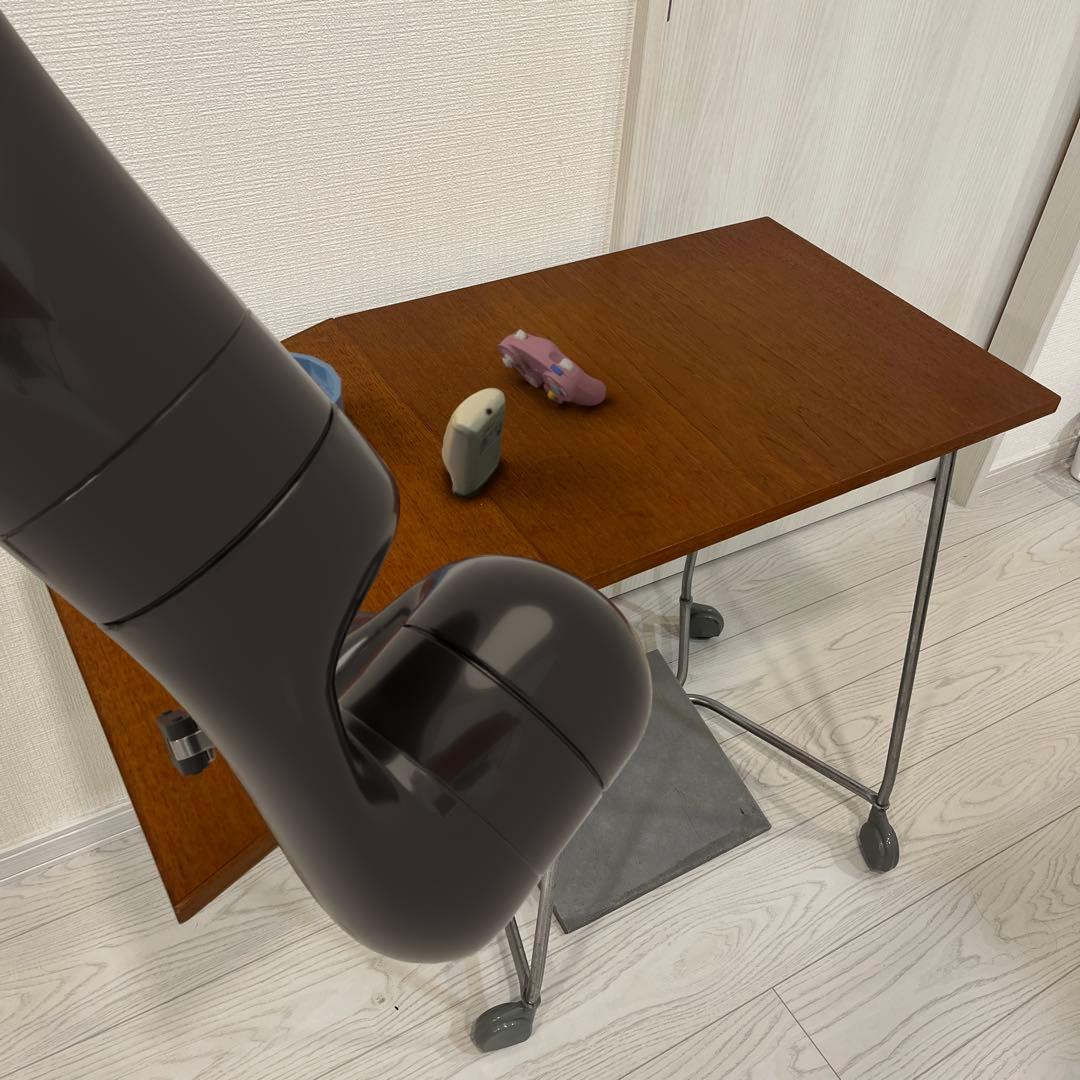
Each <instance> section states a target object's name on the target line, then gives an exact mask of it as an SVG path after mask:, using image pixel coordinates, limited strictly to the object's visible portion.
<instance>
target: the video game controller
mask: <svg viewBox="0 0 1080 1080" xmlns="http://www.w3.org/2000/svg"><path fill="white" fill-rule="evenodd" d="M497 347H498V350H499V353H500V354H501V355H502V364H503V365H504V366H505V367H507V368H508V369H513V368H515V369H516V370H517V371H518V372H519V373H520V374H521V375H522V377H523V378H524V379H525V380H526V382H528V383H529V384H530V385H531V386H533V387H534V388H537V389H538V388H540V387H541V385H542V384H543V383H544V384H543V389H544V391H545V392H546V394H547V397H548V398H549V399H550V400H551V401H555V402H557V403H558V404H560V405H561V404H563V403H564V402H569V403H570V402H571V403H574V404H577V405H581V406H586V407H593V406H597V405H599V404H601V403H602V402H604V400H605V398H606V396H607V395H606V394H607V386H606V384H604V382H602V381H601V380H600V379H597V378H594V377H592V376H590V375H588V374H587V373H585V371H584V370H582V368H581V367H580V366H578V364H576V363H575V362H574V361H573V360H572V359H570V358H569V357H568V356H566V355H565V354H564V353H563V352H562V351H561V350H560V349H559V347H558V346H557V345H556V344H555V342H553V341H552V340H550V339H547V338H544V337H540V336H535V335H532V334H531V333H528V332H525V331H524V330H522V329H519V330H518V331H515V332H513V333H510V334H509V335H508V336H506V337H505V338H503V340H502V341H501V342H500V343H499V344H498V345H497Z"/></svg>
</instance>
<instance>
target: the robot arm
mask: <svg viewBox="0 0 1080 1080" xmlns="http://www.w3.org/2000/svg"><path fill="white" fill-rule="evenodd" d="M247 306H248V305H247V303H246V302H245V301H244V300H243V299H242V298H241V297H240V295H238V293H237V292H235V290H234V289H233V288H232V287H231V285H229V284H228V282H227V281H226V280H225V279H224V278H223V277H222V276H221V275H220V274H219V273H218V271H216V269H215V268H214V267H213V266H212V265H211V264H210V263H209V262H208V260H207V259H206V258H205V257H204V256H203V255H202V254H201V253H200V252H199V251H198V250H197V248H196V247H195V246H194V245H193V244H192V243H191V242H190V241H189V240H188V239H187V237H186V236H185V235H184V234H183V233H182V232H181V231H180V230H179V228H178V227H177V225H175V224H174V223H173V222H172V220H171V219H170V218H169V217H168V216H167V214H166V213H165V212H164V211H163V210H162V209H161V208H160V206H159V205H158V204H157V203H156V202H155V201H154V200H153V198H152V197H151V196H150V195H149V194H148V193H147V191H146V190H145V189H144V188H143V187H142V186H141V184H140V183H139V182H138V181H137V179H135V177H134V176H133V175H132V174H131V173H130V172H129V170H128V169H127V168H126V167H125V166H124V165H123V163H122V162H121V161H120V160H119V158H117V156H116V155H115V154H114V152H113V151H112V150H111V149H110V147H109V146H108V145H107V144H106V143H105V141H104V140H103V139H102V138H101V137H100V136H99V134H98V133H97V132H96V130H95V129H94V128H93V127H92V125H91V124H90V123H89V122H88V121H87V120H86V118H85V117H84V116H83V114H82V113H81V112H80V111H79V109H78V108H77V107H76V106H75V105H74V104H73V102H72V101H71V100H70V99H69V97H68V96H67V95H66V94H65V92H64V91H63V89H61V87H60V86H59V85H58V84H57V82H56V81H55V80H54V78H53V77H52V76H51V75H50V73H49V72H48V71H47V69H46V68H45V67H44V66H43V64H42V63H41V62H40V60H39V59H38V58H37V57H36V55H35V54H34V53H33V52H32V50H31V49H30V47H29V46H28V44H27V43H26V42H25V41H24V40H23V37H21V35H20V34H19V33H18V31H17V30H16V28H15V27H14V26H13V24H12V23H11V22H10V20H9V19H8V17H7V16H6V15H5V13H4V11H3V10H2V9H1V8H0V548H1V549H2V550H4V551H5V552H6V553H8V554H9V555H10V556H11V557H12V558H13V559H15V560H16V561H17V562H18V563H20V564H21V565H22V566H23V567H24V568H26V570H28V571H29V572H30V573H32V574H33V575H34V576H36V578H38V580H40V581H41V582H43V584H45V585H47V587H48V588H50V589H51V590H53V592H55V593H56V594H57V595H59V596H60V598H62V599H63V600H65V601H66V602H67V603H68V604H69V605H70V606H72V607H73V608H74V609H76V611H78V612H79V613H80V614H82V615H83V616H84V617H85V618H86V619H87V620H88V621H90V622H91V623H94V624H96V627H97V628H98V629H99V630H100V631H102V632H103V634H105V635H107V637H108V638H109V639H111V640H112V641H113V642H114V643H116V644H117V645H118V646H119V647H120V648H121V649H122V650H123V651H125V652H126V653H127V654H128V655H129V656H130V657H131V658H132V659H133V660H135V662H137V663H138V664H139V665H140V666H141V667H142V668H143V669H144V670H145V671H146V672H147V673H148V674H149V675H150V676H151V677H153V679H155V680H156V681H157V682H158V683H159V684H160V685H161V686H162V687H163V688H164V689H165V690H166V691H167V693H168V694H169V695H170V696H171V697H172V698H173V699H174V700H175V701H176V702H177V704H178V705H180V707H181V708H182V709H183V710H182V709H180V708H178V709H175V710H172V709H171V708H170V709H168V710H167V709H166V710H165V711H163V712H160V713H161V715H159V716H157V717H156V718H155V722H156V725H157V727H158V729H159V730H160V732H161V735H162V738H163V740H164V743H165V745H166V748H167V751H168V753H169V760H170V761H171V763H172V764H171V765H172V766H173V767H174V768H175V769H176V770H177V771H178V772H179V773H180V774H181V775H182V776H183V777H187V776H192V777H194V776H197V775H200V774H202V773H203V772H204V770H205V769H207V768H208V767H210V763H211V762H213V761H215V760H216V759H217V756H216V754H215V751H214V748H215V749H216V751H217V752H218V753H219V754H220V756H221V757H222V759H223V760H224V761H225V763H226V764H227V765H228V767H229V769H230V771H231V772H232V774H233V775H234V777H235V778H236V779H237V781H238V782H239V784H240V785H241V787H242V788H243V790H244V791H245V793H246V794H247V796H248V798H249V799H250V801H251V802H252V805H253V806H254V808H255V809H256V810H257V812H258V814H259V815H260V818H261V819H262V821H263V822H264V824H265V826H266V827H267V829H268V831H269V833H270V834H271V836H272V837H273V839H274V840H275V842H276V844H277V845H278V847H279V848H280V850H281V852H282V853H283V855H284V856H285V858H286V859H287V861H288V863H289V864H290V867H291V868H292V870H293V871H294V872H295V874H296V875H297V877H298V878H299V880H300V881H301V883H302V884H303V885H304V887H305V888H306V889H307V891H308V892H309V893H310V895H311V896H312V898H313V899H314V901H315V902H316V903H317V905H318V906H319V907H320V908H321V909H322V910H323V911H324V912H325V914H326V915H327V916H329V918H330V919H331V920H332V921H333V922H334V923H335V924H336V925H337V926H338V927H339V929H340V930H342V931H343V932H345V934H347V935H348V936H349V937H350V938H352V939H353V940H354V941H355V942H357V943H358V944H360V945H361V946H363V947H365V948H366V949H368V950H370V951H372V952H374V953H376V954H378V955H380V956H382V957H385V958H388V959H392V960H395V961H398V962H401V963H402V962H403V963H409V964H427V965H428V964H430V965H436V964H443V963H451V962H455V961H458V960H462V959H464V958H467V957H470V956H473V955H475V954H477V953H478V952H480V951H481V950H482V949H484V948H485V947H487V946H488V945H489V944H490V943H492V941H493V940H494V939H495V938H496V937H497V936H499V935H500V934H501V932H503V931H504V930H505V928H506V927H507V926H508V924H509V923H510V922H511V921H512V919H513V918H514V917H515V916H516V914H517V913H518V912H519V910H520V909H522V906H523V905H524V904H525V903H526V901H527V900H528V898H529V897H530V896H531V894H532V893H533V891H534V890H535V889H536V887H537V886H538V885H539V883H540V881H541V880H542V879H541V878H542V877H544V876H545V875H546V873H547V872H548V871H549V869H550V868H551V866H552V865H553V864H554V863H555V861H556V860H557V858H558V857H559V856H560V854H561V853H562V852H563V850H564V849H565V848H566V846H567V845H568V844H569V842H570V841H571V840H572V838H573V837H574V836H575V834H576V833H577V831H579V829H580V827H582V825H583V823H584V822H585V821H586V819H587V818H588V817H589V815H590V814H591V813H592V811H593V810H594V809H595V807H596V806H597V804H598V803H599V802H600V801H601V799H602V798H603V792H607V791H608V790H609V788H610V787H611V786H612V784H613V783H614V782H615V780H616V779H617V778H618V776H619V775H620V774H621V772H622V770H623V769H625V767H626V766H627V764H628V763H629V761H630V759H631V758H632V757H633V755H634V754H635V752H636V751H637V750H638V747H639V745H640V743H641V741H642V739H643V737H644V735H645V733H646V731H647V728H648V725H649V722H650V718H651V715H652V708H653V707H652V706H653V697H654V694H653V693H654V692H653V690H654V687H653V679H652V672H651V667H650V663H649V659H648V656H647V654H646V651H645V649H644V646H643V644H642V642H641V640H640V637H639V636H638V633H637V632H636V630H635V629H634V627H633V625H632V624H631V622H630V621H629V619H627V617H626V615H624V613H623V612H622V611H621V610H620V608H619V607H618V606H616V604H615V603H614V602H613V601H612V600H611V599H609V598H608V597H607V595H605V594H604V593H603V592H601V591H600V590H599V589H598V588H596V587H595V586H593V585H592V584H591V583H590V582H588V581H586V580H585V579H583V578H582V577H580V576H578V575H576V574H574V573H573V572H571V571H569V570H567V569H564V568H561V567H560V566H557V565H555V564H552V563H549V562H546V561H543V560H540V559H537V558H532V557H528V556H521V555H516V554H506V553H505V554H503V553H501V554H499V553H489V554H488V553H487V554H478V555H471V556H467V557H463V558H460V559H457V560H453V561H450V562H448V563H446V564H444V565H442V566H441V567H438V568H437V569H435V570H433V571H432V572H430V573H429V574H427V575H426V576H424V577H422V578H421V579H420V580H418V581H417V582H416V583H414V584H413V585H412V586H410V587H409V588H407V589H406V590H405V591H403V592H402V593H401V594H399V595H398V596H397V597H395V598H394V599H393V600H392V601H390V602H389V603H388V604H386V605H385V606H384V607H383V608H382V609H381V610H379V611H378V612H374V611H367V610H360V609H361V607H362V605H363V603H364V601H365V599H366V597H367V596H368V593H369V591H370V590H371V588H372V586H373V584H374V583H375V580H376V579H377V577H378V575H379V573H380V571H381V569H382V567H383V564H384V562H385V560H386V558H387V556H388V553H389V552H390V549H391V547H392V544H393V542H394V539H395V537H396V534H397V531H398V528H399V524H400V523H399V522H400V519H401V496H400V490H399V487H398V486H399V485H398V484H397V482H396V481H397V480H396V479H395V477H394V474H393V472H392V471H391V469H390V467H389V465H388V464H387V463H386V462H385V460H384V459H383V457H382V456H381V454H380V453H379V452H378V450H377V449H376V447H375V446H374V445H373V444H372V443H371V442H370V440H369V439H368V438H367V437H366V436H365V434H364V433H363V432H362V431H361V430H360V429H359V427H358V426H356V424H354V422H353V421H352V420H351V419H350V418H349V416H347V415H345V414H344V413H343V412H342V411H341V410H340V408H339V407H338V406H337V405H336V404H335V403H334V402H332V401H331V399H330V398H329V396H328V395H327V394H326V393H325V391H324V390H323V389H322V388H321V387H320V386H319V385H318V384H317V383H316V381H315V380H314V379H313V378H312V377H311V376H310V375H309V374H308V373H307V371H306V370H305V369H304V368H303V367H302V366H301V365H300V364H299V363H298V361H297V360H296V359H295V358H294V357H293V356H292V355H291V354H290V353H289V352H290V351H289V350H288V349H287V348H286V347H285V346H284V345H283V343H282V342H281V341H280V340H279V339H278V338H277V337H276V336H275V335H274V333H272V331H271V330H270V329H269V328H268V327H267V325H265V324H264V323H263V321H262V320H261V319H260V318H259V317H258V316H257V314H256V313H255V312H254V311H253V310H252V309H251V308H250V307H247Z"/></svg>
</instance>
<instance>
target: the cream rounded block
mask: <svg viewBox="0 0 1080 1080" xmlns="http://www.w3.org/2000/svg"><path fill="white" fill-rule="evenodd" d="M506 405H507V401H506V396H505V393H504V391H502V390H501V389H500V388H499V389H498V388H496V387H488V388H483V389H481V390H479V391H476V392H475V393H472V394H471V395H470V396H469V397H467V398H466V399H465V400H463V401H462V402H461V403H460V404H459V405H458V406H457V407H456V409H454V412H453V413H452V415H451V416H450V419H449V421H448V423H447V426H446V430H445V433H444V435H443V442H442V443H443V444H442V449H441V457H442V461H443V464H444V466H445V468H446V470H447V472H448V473H449V475H450V480H451V482H452V488H451V489H452V493H453V495H456V496H457V497H458V498H462V499H465V500H467V499H471V498H473V497H475V496H478V493H479V492H481V489H482V488H483V487H484V486H485V485H486V484H487V483H488V481H489V480H490V479H491V478H492V477H493V476H494V474H495V473H496V472H497V470H498V468H499V463H500V460H501V448H502V439H503V433H504V425H505V424H504V423H505V414H506V413H505V412H506Z"/></svg>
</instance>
